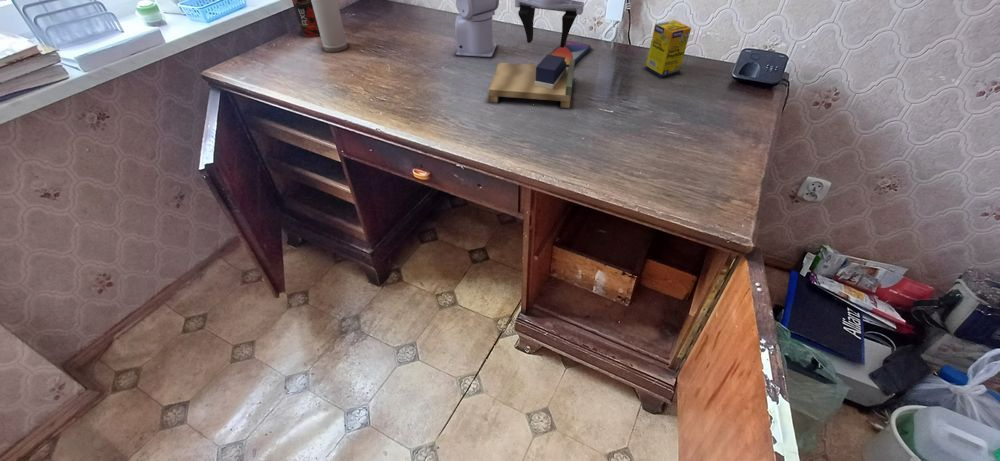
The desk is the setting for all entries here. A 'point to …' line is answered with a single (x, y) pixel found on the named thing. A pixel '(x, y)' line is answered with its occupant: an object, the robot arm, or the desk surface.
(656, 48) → the supplement box
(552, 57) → the white-based navy block
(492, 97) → the shelf
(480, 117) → the desk surface
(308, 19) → the deodorant
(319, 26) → the travel mug
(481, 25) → the robot arm
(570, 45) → the smartphone
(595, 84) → the desk surface
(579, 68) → the desk surface
